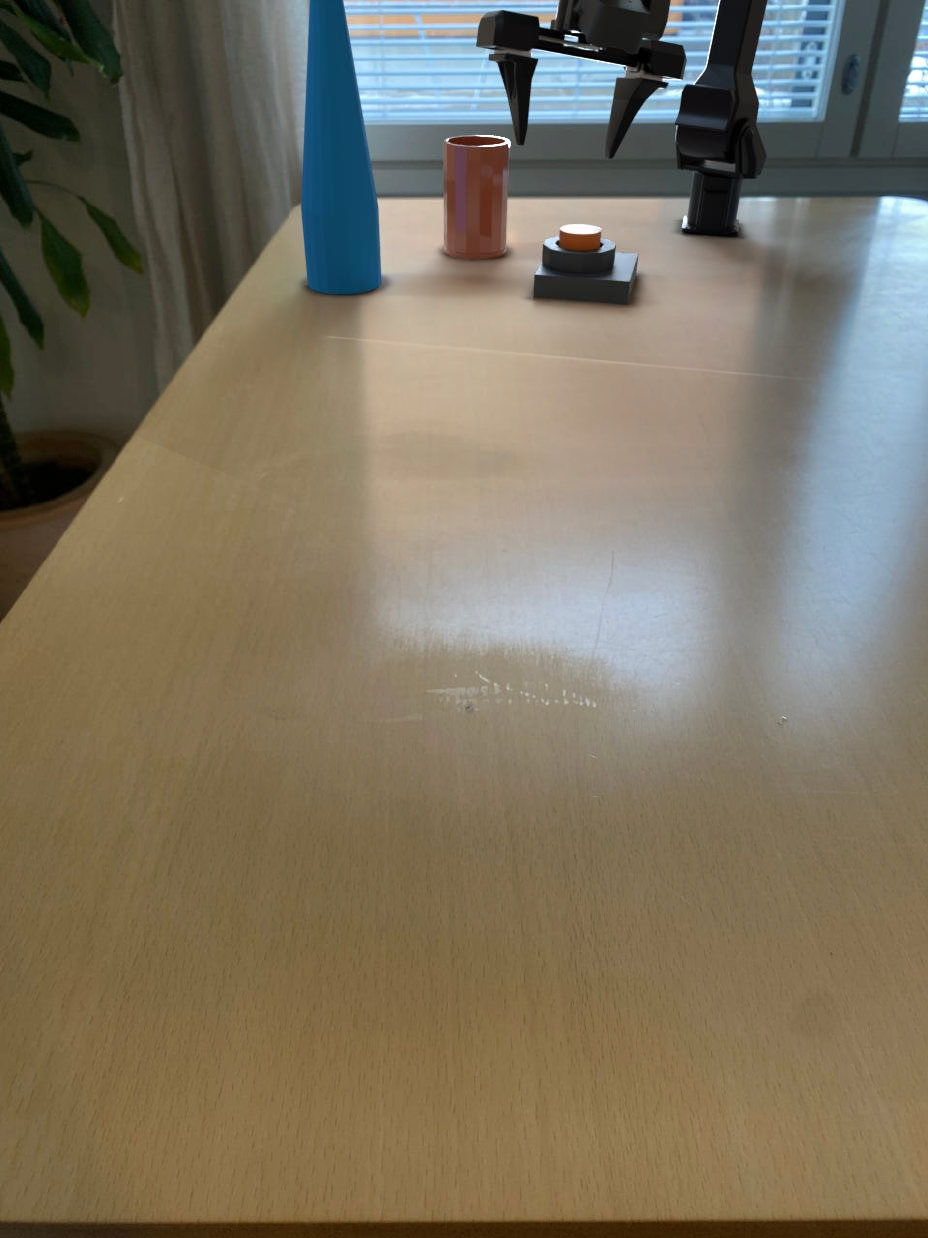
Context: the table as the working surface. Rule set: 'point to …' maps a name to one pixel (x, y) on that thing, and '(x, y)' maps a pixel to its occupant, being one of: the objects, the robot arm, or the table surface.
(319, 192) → the bottle
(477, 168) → the cup
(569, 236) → the orange push button
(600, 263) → the button base
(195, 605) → the table surface
